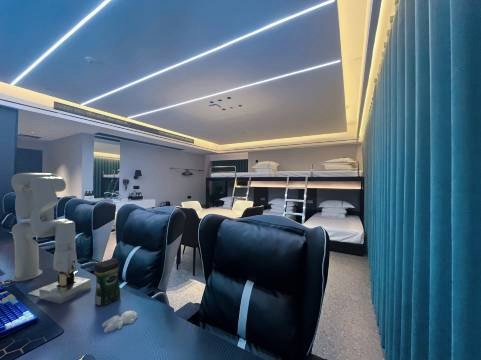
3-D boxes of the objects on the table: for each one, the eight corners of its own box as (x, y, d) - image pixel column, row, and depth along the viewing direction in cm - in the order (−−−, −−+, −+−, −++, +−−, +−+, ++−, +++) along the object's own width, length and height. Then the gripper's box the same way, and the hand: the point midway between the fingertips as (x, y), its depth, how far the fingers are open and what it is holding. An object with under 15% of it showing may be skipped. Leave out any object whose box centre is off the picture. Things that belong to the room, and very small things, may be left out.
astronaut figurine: (101, 323, 83) (101, 315, 83) (134, 311, 90) (134, 304, 90) (103, 336, 76) (103, 328, 76) (139, 322, 83) (139, 314, 83)
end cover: (57, 295, 102) (56, 274, 102) (68, 289, 107) (67, 270, 107) (64, 296, 101) (64, 275, 100) (75, 291, 105) (75, 271, 105)
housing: (39, 298, 99) (39, 289, 99) (71, 284, 112) (70, 275, 112) (60, 303, 95) (60, 293, 95) (90, 288, 108) (90, 279, 108)
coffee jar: (114, 293, 104) (114, 255, 103) (122, 298, 99) (122, 258, 99) (91, 302, 96) (91, 262, 95) (99, 308, 91) (99, 266, 91)
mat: (28, 294, 103) (28, 293, 103) (47, 285, 111) (47, 285, 111) (39, 296, 101) (39, 295, 101) (57, 288, 108) (57, 287, 108)
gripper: (44, 247, 102) (45, 284, 103) (70, 250, 97) (70, 290, 98) (61, 242, 109) (62, 277, 110) (86, 245, 105) (86, 282, 105)
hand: (66, 283), depth 104 cm, fingers closed on end cover, 5 cm apart
